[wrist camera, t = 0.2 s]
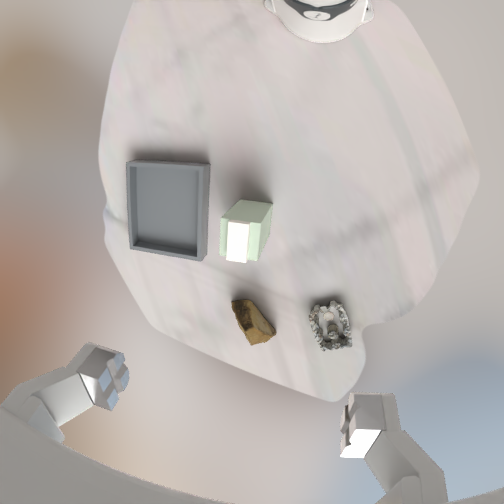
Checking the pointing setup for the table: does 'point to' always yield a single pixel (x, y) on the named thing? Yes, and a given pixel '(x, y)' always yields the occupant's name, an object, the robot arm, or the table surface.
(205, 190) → the tray
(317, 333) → the grey carved figurine
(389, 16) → the table surface
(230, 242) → the juice carton
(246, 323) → the rock
